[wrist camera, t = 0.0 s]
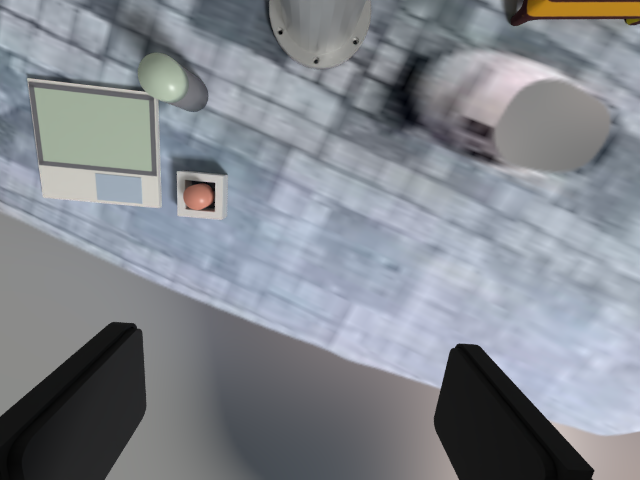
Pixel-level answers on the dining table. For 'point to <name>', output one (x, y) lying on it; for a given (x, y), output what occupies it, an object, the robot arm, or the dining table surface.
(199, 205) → the button
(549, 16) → the decorative lantern
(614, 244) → the dining table surface
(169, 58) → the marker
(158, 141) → the picture board
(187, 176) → the button housing
